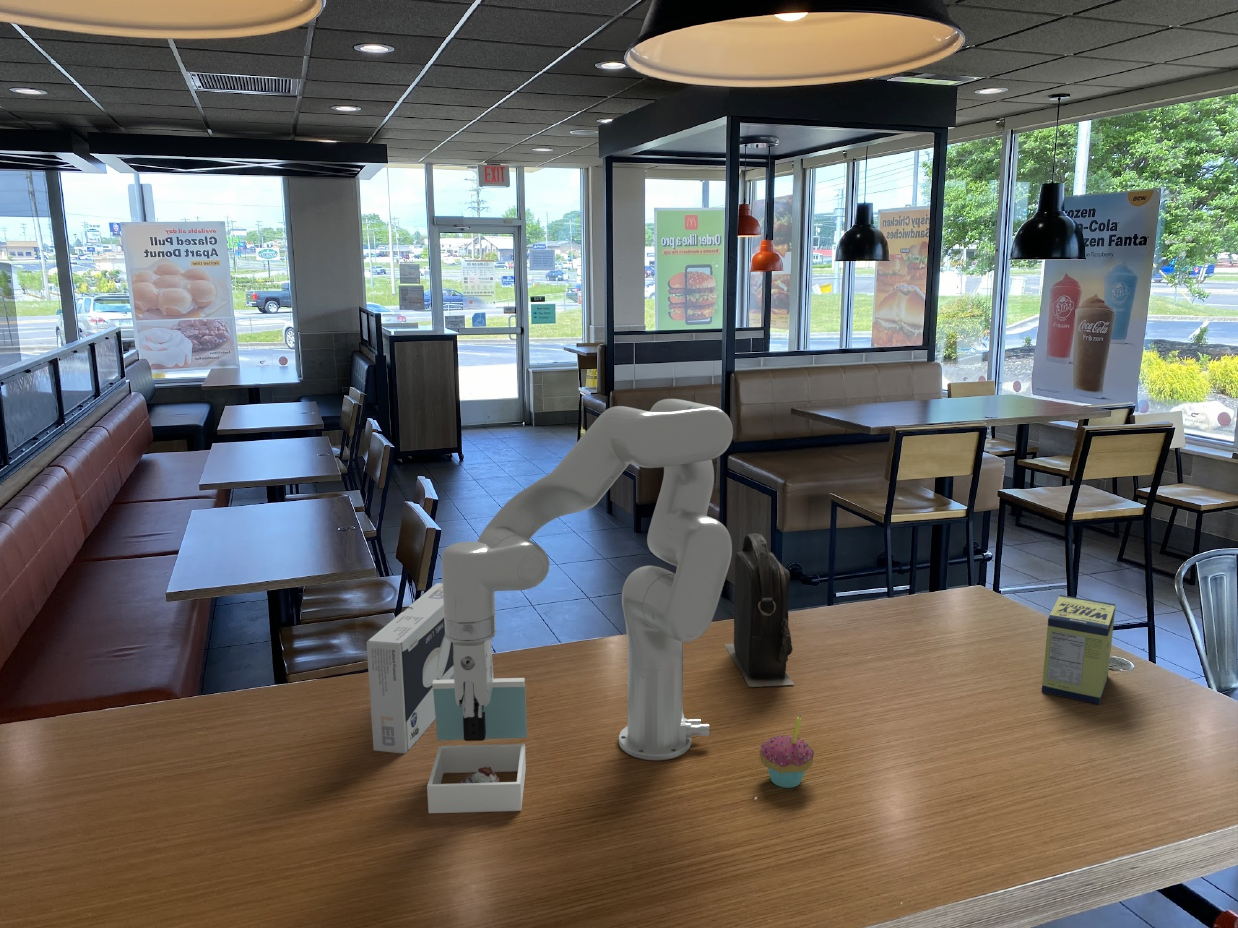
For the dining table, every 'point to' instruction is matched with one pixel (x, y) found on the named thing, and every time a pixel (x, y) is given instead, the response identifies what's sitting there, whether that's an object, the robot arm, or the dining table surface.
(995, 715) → the dining table surface
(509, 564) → the robot arm
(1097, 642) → the protein box
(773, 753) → the cupcake
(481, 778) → the pastry
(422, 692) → the packaging
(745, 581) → the shoulder bag
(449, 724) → the lid
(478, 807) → the box
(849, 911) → the dining table surface
